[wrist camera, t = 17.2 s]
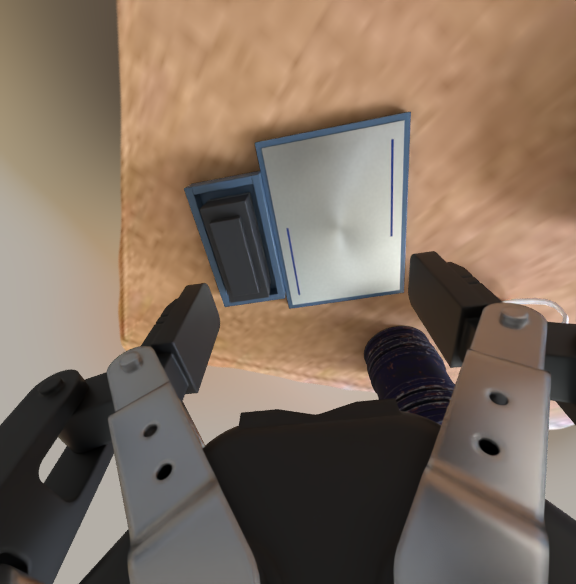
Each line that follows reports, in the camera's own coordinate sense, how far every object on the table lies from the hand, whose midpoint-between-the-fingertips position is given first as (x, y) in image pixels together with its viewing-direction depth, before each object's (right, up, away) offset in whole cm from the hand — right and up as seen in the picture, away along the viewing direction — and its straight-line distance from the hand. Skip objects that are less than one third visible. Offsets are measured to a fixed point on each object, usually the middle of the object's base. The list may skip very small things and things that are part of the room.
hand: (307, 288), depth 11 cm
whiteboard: (+5, +8, +22) cm, 24 cm away
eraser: (-6, +6, +22) cm, 23 cm away
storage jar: (+16, -9, +32) cm, 37 cm away
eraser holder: (-6, +6, +23) cm, 24 cm away
